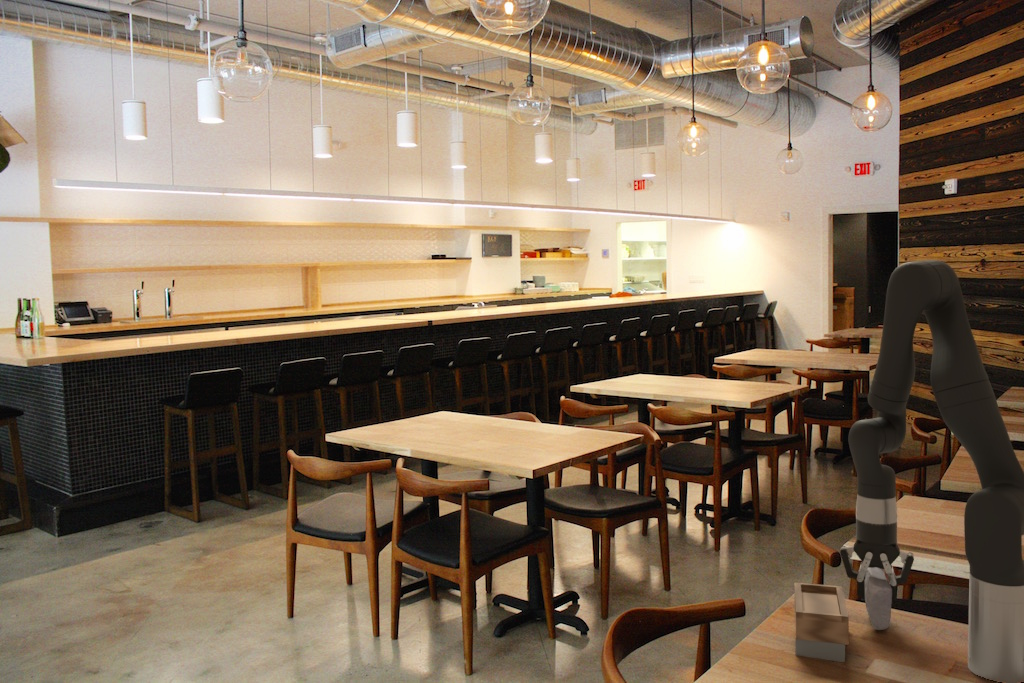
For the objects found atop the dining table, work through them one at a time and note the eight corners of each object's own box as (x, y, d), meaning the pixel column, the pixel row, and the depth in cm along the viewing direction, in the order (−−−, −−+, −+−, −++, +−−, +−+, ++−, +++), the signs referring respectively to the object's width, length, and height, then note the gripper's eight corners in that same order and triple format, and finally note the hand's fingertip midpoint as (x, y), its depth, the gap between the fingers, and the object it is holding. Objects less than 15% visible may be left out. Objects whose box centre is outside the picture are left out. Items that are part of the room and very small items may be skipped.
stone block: (899, 635, 156) (891, 585, 156) (872, 636, 158) (865, 586, 157) (890, 610, 168) (883, 563, 167) (865, 611, 169) (858, 565, 169)
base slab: (845, 632, 161) (845, 612, 160) (844, 666, 147) (844, 644, 147) (800, 626, 164) (800, 607, 164) (795, 658, 150) (795, 637, 150)
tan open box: (842, 611, 161) (842, 586, 160) (848, 644, 147) (848, 616, 146) (794, 607, 164) (794, 582, 163) (796, 639, 149) (796, 611, 149)
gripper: (915, 515, 162) (915, 598, 163) (839, 509, 168) (839, 589, 169) (916, 525, 155) (916, 612, 156) (836, 519, 161) (837, 602, 162)
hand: (876, 600), depth 163 cm, fingers open, 4 cm apart
